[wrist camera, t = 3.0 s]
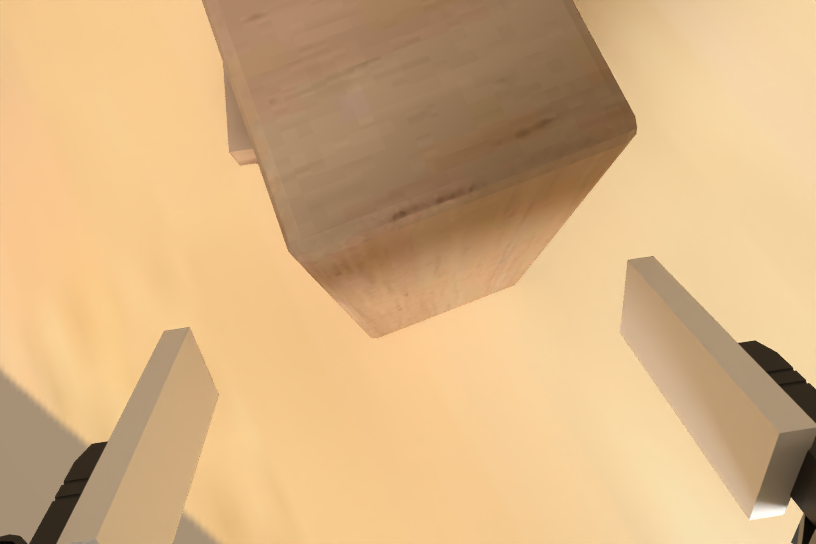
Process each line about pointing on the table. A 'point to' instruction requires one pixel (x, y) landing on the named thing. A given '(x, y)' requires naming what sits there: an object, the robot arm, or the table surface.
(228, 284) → the table surface
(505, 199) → the wooden block
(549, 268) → the table surface
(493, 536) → the table surface
